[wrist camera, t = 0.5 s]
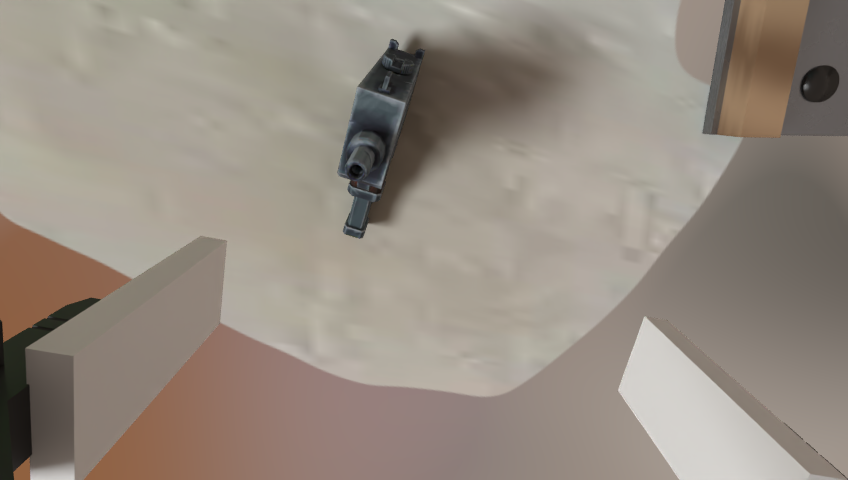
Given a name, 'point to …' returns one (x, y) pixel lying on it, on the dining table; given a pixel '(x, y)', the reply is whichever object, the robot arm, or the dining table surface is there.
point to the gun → (376, 130)
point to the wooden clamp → (762, 67)
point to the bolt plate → (798, 72)
